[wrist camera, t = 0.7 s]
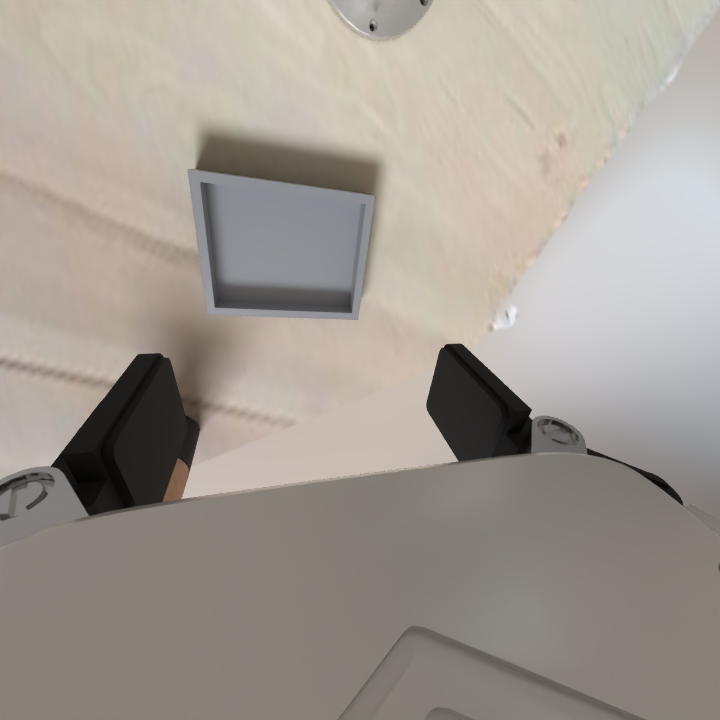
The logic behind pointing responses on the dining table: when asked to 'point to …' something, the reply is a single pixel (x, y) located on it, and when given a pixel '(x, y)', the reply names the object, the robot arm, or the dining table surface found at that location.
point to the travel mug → (183, 463)
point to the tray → (280, 246)
